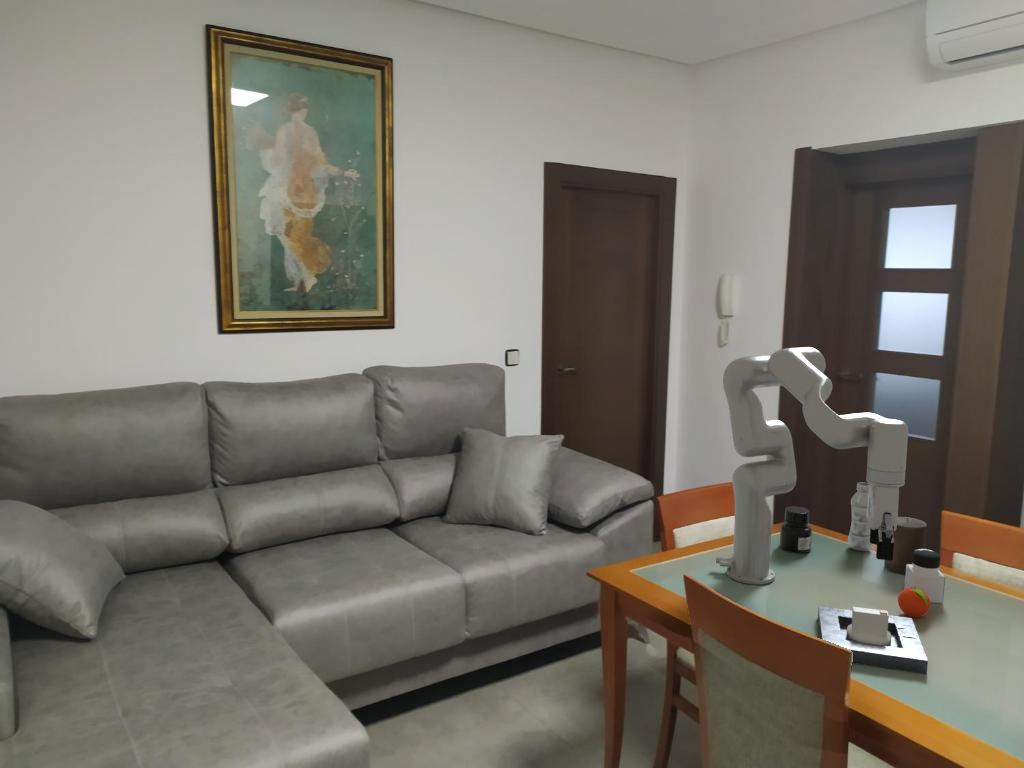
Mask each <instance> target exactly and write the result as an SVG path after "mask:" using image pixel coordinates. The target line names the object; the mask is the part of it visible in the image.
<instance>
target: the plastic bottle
mask: <svg viewBox="0 0 1024 768" xmlns="http://www.w3.org/2000/svg"><path fill="white" fill-rule="evenodd" d="M869 486H870V483H868V482H857V484H856V490H857V492H855V493H854V495H852V497H851V499H850V505H851V506H850V508H851V525H850V530H849V534H848V537H847V543H848V544H847V545H848V546H849V548H850V549H852V550H855V551H860V552H861V551H862V552H864V551H865V552H866V551H869V550H870V549H872V546H873V544H871V543H870V528H871V527H870V525H869V523H868V521H867V517H866V514H867V504H868V494H869Z"/></svg>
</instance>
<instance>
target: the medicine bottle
mask: <svg viewBox="0 0 1024 768" xmlns="http://www.w3.org/2000/svg"><path fill="white" fill-rule="evenodd" d="M940 567H941V555H940V554H939V553H938V552H936V551H934V550H931V549H927V548H925V549H918V550H915V551H914V552H913V562H912V564H907V565H906V574H905V575H904V589H906V588H909V587H915V588H919V589H921V590H922V591H924V592H925V593H926V594H927V596H928V597H929V599H930V604H931V603H933V604H944V596H945V584H946V576H945V575H944V574H943V573H942V572H941V571H940ZM904 589H903V590H904Z"/></svg>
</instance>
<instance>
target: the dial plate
mask: <svg viewBox="0 0 1024 768" xmlns="http://www.w3.org/2000/svg"><path fill="white" fill-rule="evenodd" d="M817 609H818V611H817V622H818V623H819V625H818V630H819V631H820V633H819V639H820V638H821V639H823V640H826V641H829V642H831V643H834V644H836V645H839V646H841V647H844V648H847V649H849V650H851V651H852V652H853V662H852V663H851V664H856V665H863V666H869V667H876V668H882V669H883V668H884V669H891V670H896V671H902V672H904V671H905V672H909V673H916V674H923V675H928V663H929V660H928V657H927V654H926V652H925V650H924V647H923V644H922V642H921V639H920V636H919V633H918V631H917V629H916V625H915V622H914V620H913V618H911V617H906V616H905V617H904V616H898V615H897V616H896V615H890V614H888V615H889V619H888V631H889V632H890V634H891V636H892V638H891V645H890V646H883V645H875V644H868V643H861V642H854V641H850V640H849V639H848V637H847V627H848V626H849V625H850V624H852V612H853V609H852V610H851V609H844V608H843V609H842V608H837V607H827V606H821V605H820V606H818V607H817ZM819 631H818V632H819Z"/></svg>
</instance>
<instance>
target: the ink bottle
mask: <svg viewBox="0 0 1024 768" xmlns="http://www.w3.org/2000/svg"><path fill="white" fill-rule="evenodd" d="M809 523H810V510H809V509H808V508H806V507H802V506H797V505H794V506H787V507H785V509H784V522H783V523H782V524H781V525H780V533H779V548H780V549H782V550H784V551H786V552H790V553H795V554H806V553H809V552H810V551H811V550H812V546H813V545H812V543H813V542H812V540H813V528H812V527H811V526H810V524H809Z"/></svg>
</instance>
